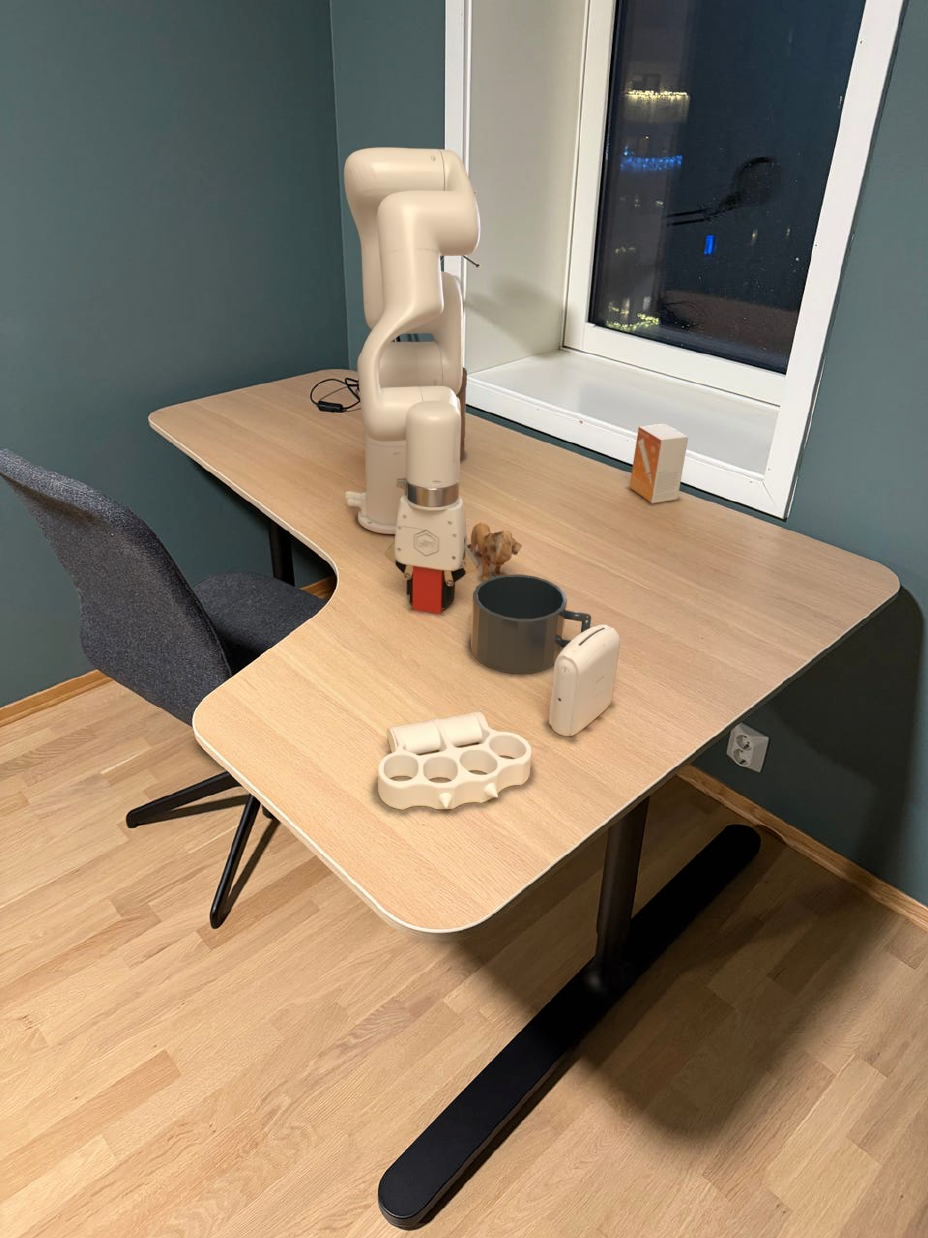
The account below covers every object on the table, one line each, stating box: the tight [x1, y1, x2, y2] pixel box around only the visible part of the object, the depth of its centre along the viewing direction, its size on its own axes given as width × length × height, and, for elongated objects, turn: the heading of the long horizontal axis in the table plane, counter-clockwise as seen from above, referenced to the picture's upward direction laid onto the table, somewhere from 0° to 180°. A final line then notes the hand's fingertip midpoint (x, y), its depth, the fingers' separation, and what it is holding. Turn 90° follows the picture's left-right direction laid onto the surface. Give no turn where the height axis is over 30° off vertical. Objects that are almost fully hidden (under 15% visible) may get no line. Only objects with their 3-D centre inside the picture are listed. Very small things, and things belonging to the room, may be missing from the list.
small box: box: [629, 423, 689, 504], centre depth 171 cm, size 8×6×13 cm
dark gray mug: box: [470, 573, 592, 675], centre depth 122 cm, size 16×13×8 cm
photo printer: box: [548, 624, 621, 737], centre depth 109 cm, size 10×4×12 cm, turn 140°
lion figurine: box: [467, 522, 523, 581], centre depth 143 cm, size 15×5×9 cm, turn 28°
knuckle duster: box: [377, 710, 533, 811], centre depth 101 cm, size 3×18×15 cm
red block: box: [412, 566, 445, 615], centre depth 133 cm, size 4×4×8 cm
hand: (430, 600), depth 134 cm, fingers closed on red block, 4 cm apart
